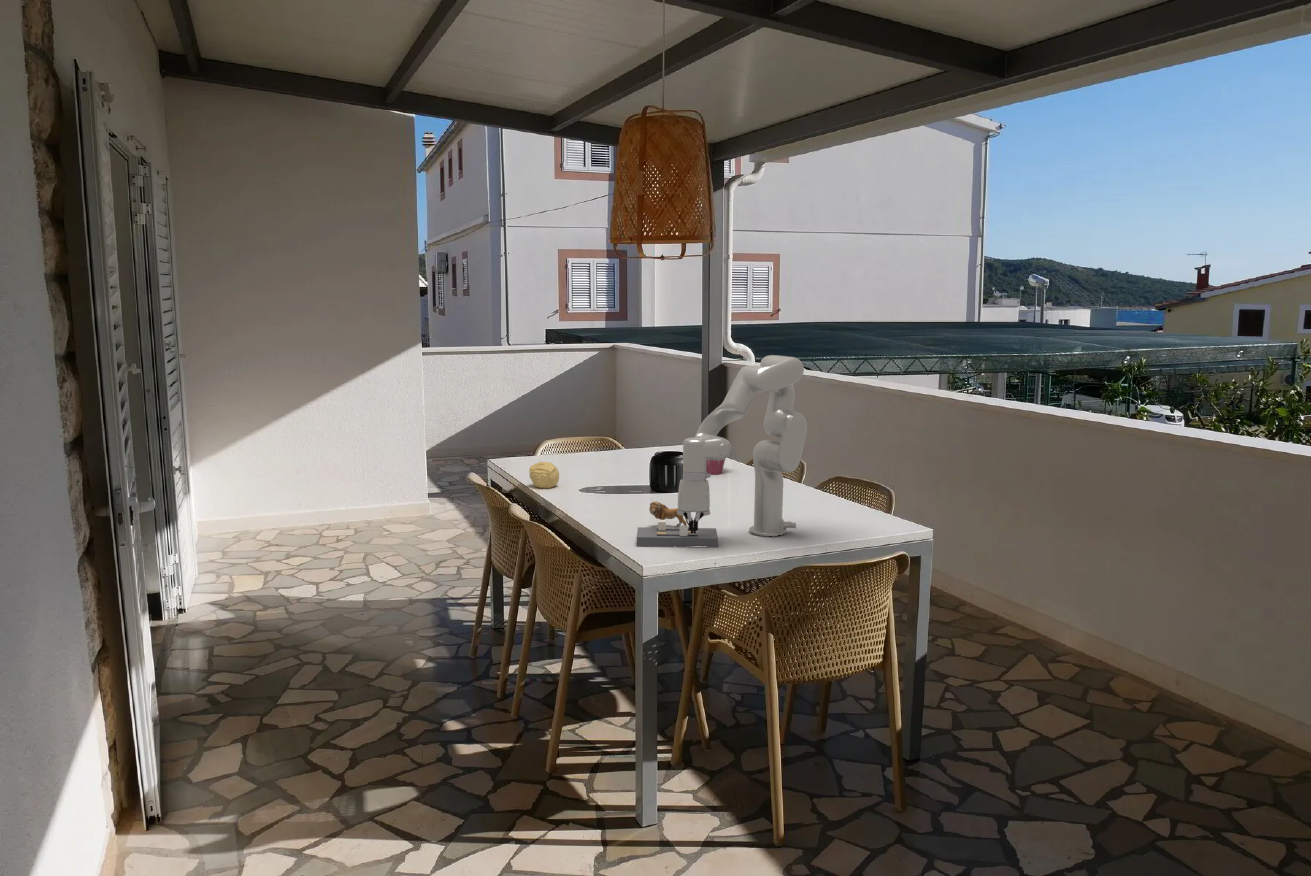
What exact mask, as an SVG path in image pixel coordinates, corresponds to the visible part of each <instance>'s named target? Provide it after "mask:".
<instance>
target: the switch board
mask: <svg viewBox="0 0 1311 876" xmlns="http://www.w3.org/2000/svg"><path fill="white" fill-rule="evenodd" d="M674 546H676V547H674ZM686 546H688V547H686ZM689 546H707V547H706V548H718V547H719V537H718V532H717V528H715V527H713V528H712V527H709V528H708V527H698V530H696V534H694V533H692V534H691V530H689V527H688V533H687V536H680V527H666V531H658V527H650V526H649V527H641V526H638V527H637V532H636V547H646V548H647V547H650V548H652V547H656V548H657V547H661V548H663V547H666V548H667V547H668V548H669V547H670V548H690V547H689Z"/></svg>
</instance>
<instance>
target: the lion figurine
mask: <svg viewBox="0 0 1311 876" xmlns="http://www.w3.org/2000/svg"><path fill="white" fill-rule="evenodd" d="M677 510H678V507H676V508H669V507H668V506H666V505H665V504H662V503H661V502H659V501H652V502H650V503H649V513H650V514H651V515H652V516H654V517H655V519H658V520H666V519H667V520H672V519H676V518H677V519H678V522H679V523H677V524H676V525H675V526H676V527H680V525H682V524H683V525H687V526H689V521H688V519H687V518H686V517H685V516H682V515H678V514H677ZM684 518H685V519H684Z"/></svg>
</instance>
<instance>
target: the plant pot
mask: <svg viewBox="0 0 1311 876" xmlns="http://www.w3.org/2000/svg"><path fill="white" fill-rule="evenodd" d="M725 462H726V459H724V460H707V461H706V472H707V473H711V476H718V475H722V473H723V470H724V466H725Z"/></svg>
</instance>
